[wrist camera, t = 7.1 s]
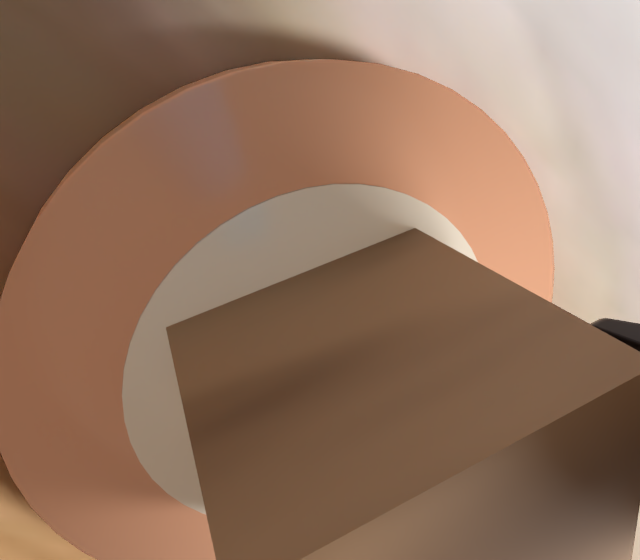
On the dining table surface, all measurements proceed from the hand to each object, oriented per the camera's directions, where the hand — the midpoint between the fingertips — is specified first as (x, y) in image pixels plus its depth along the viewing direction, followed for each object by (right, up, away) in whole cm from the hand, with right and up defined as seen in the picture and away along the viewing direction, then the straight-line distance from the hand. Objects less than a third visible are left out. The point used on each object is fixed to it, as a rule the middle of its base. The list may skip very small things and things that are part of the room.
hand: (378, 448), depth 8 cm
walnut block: (-1, +1, +2) cm, 2 cm away
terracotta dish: (-1, +1, +3) cm, 4 cm away
